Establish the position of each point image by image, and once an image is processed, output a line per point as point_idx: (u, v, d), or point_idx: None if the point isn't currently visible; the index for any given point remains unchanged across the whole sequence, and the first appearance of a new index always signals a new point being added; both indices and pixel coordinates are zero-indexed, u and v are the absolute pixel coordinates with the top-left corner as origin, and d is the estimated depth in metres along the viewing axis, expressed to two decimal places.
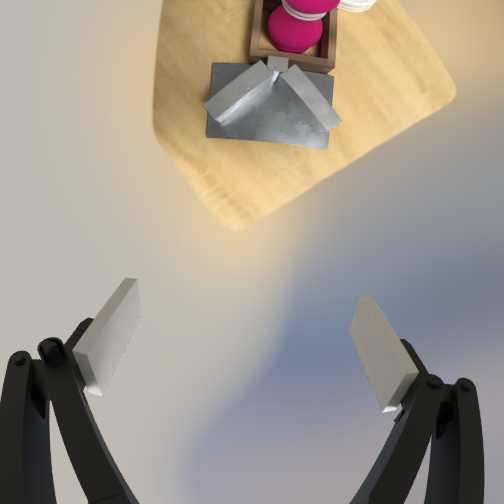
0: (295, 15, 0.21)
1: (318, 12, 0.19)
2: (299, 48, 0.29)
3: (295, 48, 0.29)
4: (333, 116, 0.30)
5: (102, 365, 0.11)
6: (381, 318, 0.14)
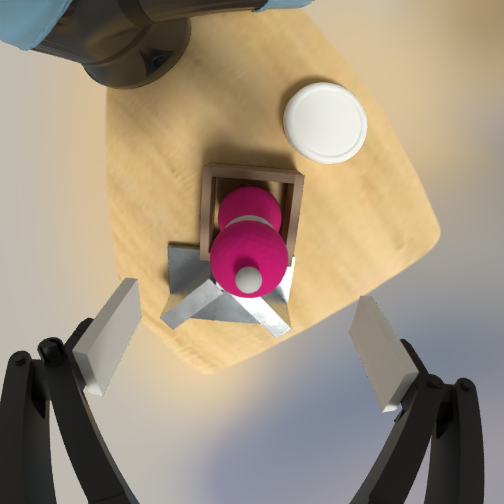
0: None
1: None
2: None
3: None
4: (282, 326, 0.35)
5: (102, 365, 0.11)
6: (381, 318, 0.14)
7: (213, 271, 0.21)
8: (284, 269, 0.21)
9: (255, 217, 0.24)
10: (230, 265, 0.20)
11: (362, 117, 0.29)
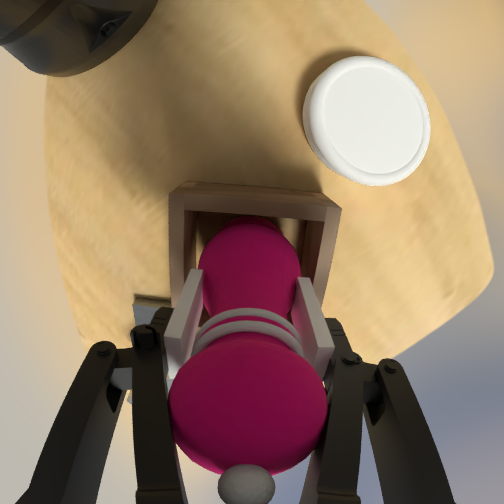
0: None
1: None
2: None
3: None
4: None
5: (186, 350, 0.12)
6: (311, 297, 0.15)
7: (175, 441, 0.08)
8: None
9: (260, 313, 0.12)
10: (206, 455, 0.07)
11: (425, 115, 0.16)
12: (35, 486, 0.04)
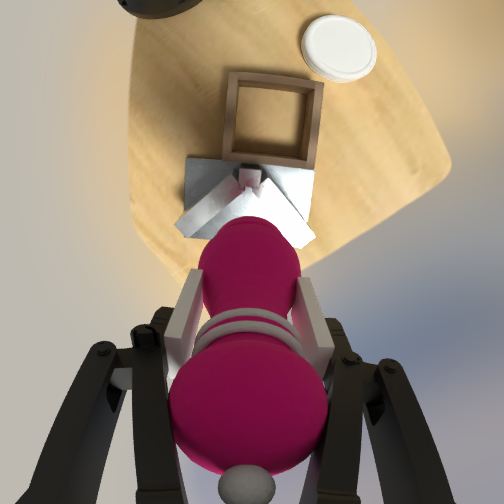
0: None
1: None
2: None
3: None
4: (306, 233, 0.33)
5: (186, 349, 0.12)
6: (311, 297, 0.15)
7: (175, 441, 0.08)
8: None
9: (260, 313, 0.12)
10: (206, 456, 0.07)
11: (372, 44, 0.27)
12: (35, 486, 0.04)
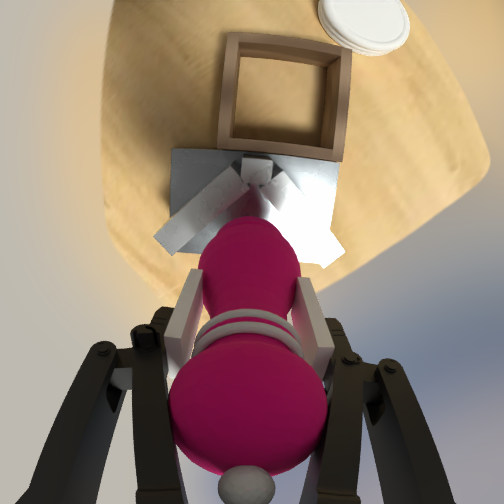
0: None
1: None
2: None
3: None
4: (333, 247, 0.24)
5: (186, 350, 0.12)
6: (311, 297, 0.15)
7: (175, 442, 0.08)
8: None
9: (260, 314, 0.12)
10: (206, 456, 0.07)
11: (403, 12, 0.18)
12: (35, 486, 0.04)
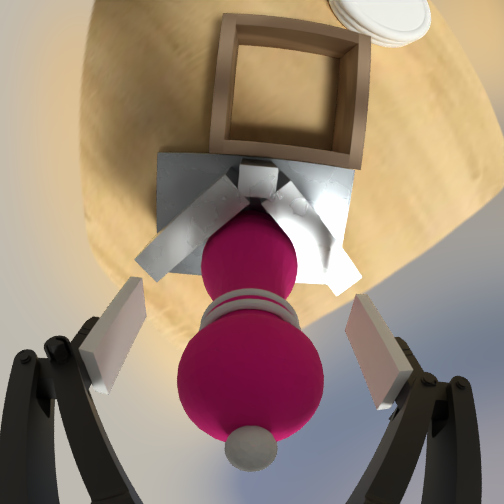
0: None
1: None
2: None
3: None
4: (349, 272, 0.20)
5: (108, 363, 0.11)
6: (376, 316, 0.14)
7: None
8: (316, 408, 0.10)
9: (261, 293, 0.13)
10: (214, 418, 0.08)
11: (423, 0, 0.14)
12: (3, 503, 0.03)
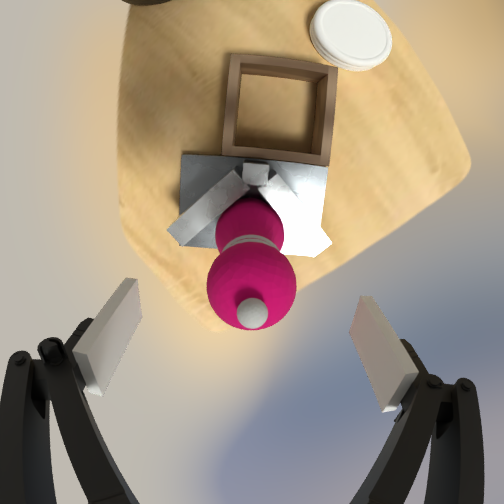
0: None
1: None
2: None
3: None
4: (321, 239, 0.28)
5: (102, 365, 0.11)
6: (381, 318, 0.14)
7: (211, 301, 0.18)
8: (292, 298, 0.18)
9: (257, 237, 0.21)
10: (230, 296, 0.17)
11: (386, 29, 0.23)
12: None
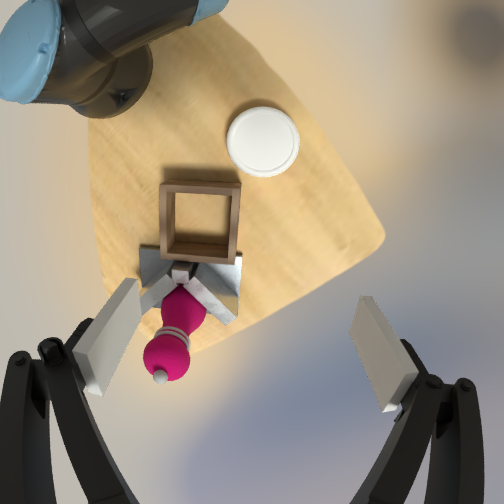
0: None
1: None
2: None
3: None
4: (229, 315, 0.42)
5: (102, 365, 0.11)
6: (381, 318, 0.14)
7: (145, 366, 0.32)
8: (184, 369, 0.31)
9: (172, 328, 0.35)
10: (151, 367, 0.30)
11: (294, 134, 0.36)
12: None
